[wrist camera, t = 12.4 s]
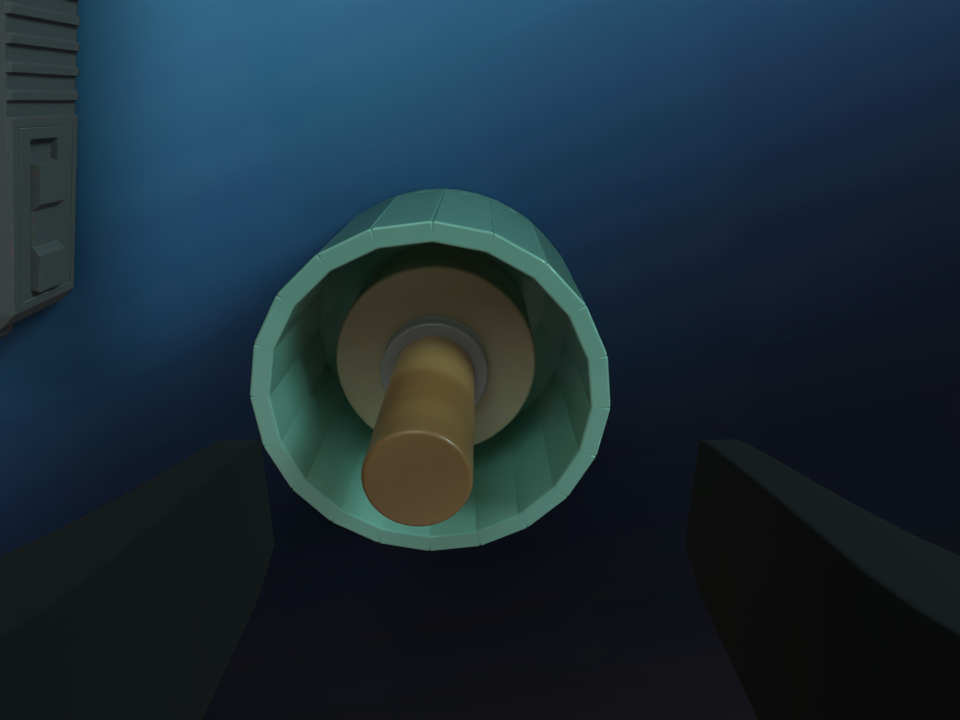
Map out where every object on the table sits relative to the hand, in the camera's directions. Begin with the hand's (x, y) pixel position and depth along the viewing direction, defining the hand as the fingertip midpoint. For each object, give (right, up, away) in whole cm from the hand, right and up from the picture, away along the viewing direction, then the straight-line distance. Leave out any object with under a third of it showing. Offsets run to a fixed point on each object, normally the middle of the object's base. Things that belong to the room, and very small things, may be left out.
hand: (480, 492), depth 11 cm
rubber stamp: (-1, +3, +7) cm, 7 cm away
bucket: (-1, +3, +7) cm, 8 cm away
